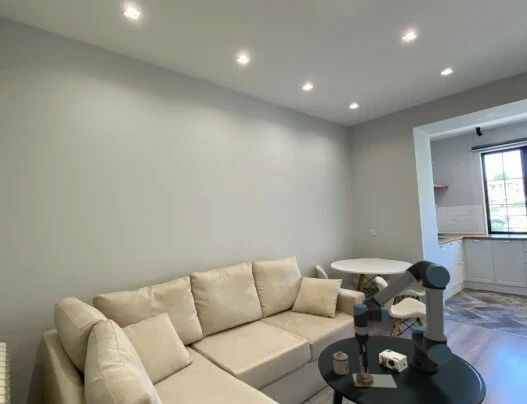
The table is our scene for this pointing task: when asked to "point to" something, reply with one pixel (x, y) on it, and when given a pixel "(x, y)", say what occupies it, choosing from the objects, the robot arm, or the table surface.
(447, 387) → the table surface
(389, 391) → the table surface
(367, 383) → the wooden ring
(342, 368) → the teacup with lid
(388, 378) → the felt mat
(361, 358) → the birch dowel
